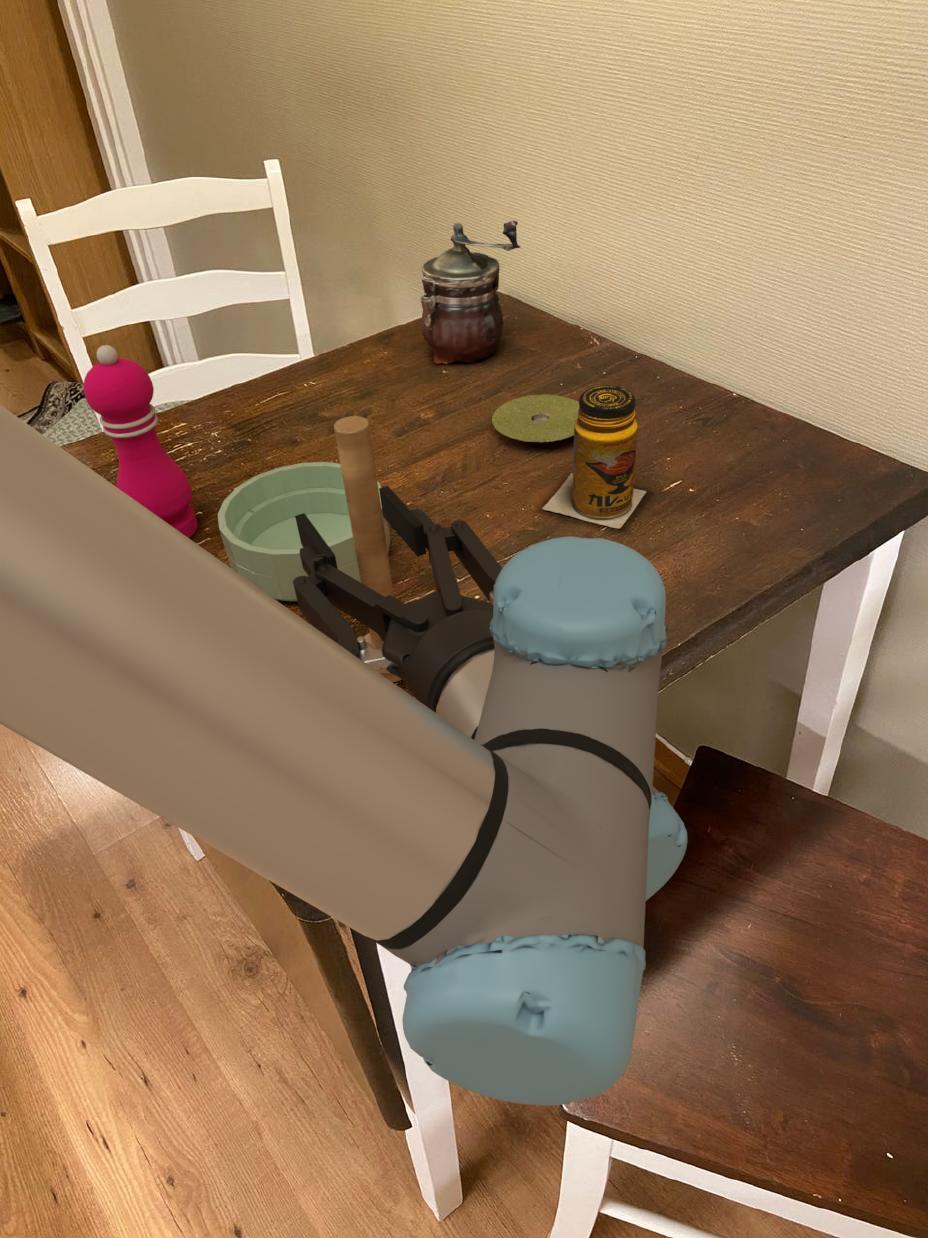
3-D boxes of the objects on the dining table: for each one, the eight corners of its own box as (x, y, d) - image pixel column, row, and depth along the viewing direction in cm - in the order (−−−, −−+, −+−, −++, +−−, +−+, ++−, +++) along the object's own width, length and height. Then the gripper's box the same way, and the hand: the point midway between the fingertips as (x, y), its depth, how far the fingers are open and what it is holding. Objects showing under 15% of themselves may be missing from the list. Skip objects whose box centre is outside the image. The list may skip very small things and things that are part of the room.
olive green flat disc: (596, 411, 105) (596, 396, 103) (582, 460, 97) (583, 444, 95) (503, 406, 107) (503, 391, 106) (482, 452, 99) (482, 437, 98)
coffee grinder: (501, 383, 112) (496, 236, 100) (405, 363, 118) (389, 222, 107) (547, 345, 120) (547, 204, 108) (455, 328, 126) (445, 193, 115)
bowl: (215, 608, 81) (198, 556, 77) (252, 514, 92) (239, 464, 88) (382, 604, 80) (373, 551, 76) (397, 509, 91) (391, 459, 87)
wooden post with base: (351, 684, 72) (303, 446, 58) (360, 638, 76) (317, 406, 62) (419, 682, 72) (387, 443, 57) (424, 636, 76) (395, 403, 62)
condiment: (620, 530, 86) (627, 419, 78) (541, 510, 90) (541, 402, 82) (646, 493, 91) (656, 384, 83) (571, 475, 94) (573, 370, 86)
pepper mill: (130, 520, 93) (62, 338, 80) (200, 506, 94) (144, 323, 81) (132, 559, 88) (59, 369, 75) (205, 542, 89) (147, 354, 76)
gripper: (348, 795, 53) (238, 592, 69) (613, 677, 60) (455, 516, 75) (328, 709, 49) (214, 512, 64) (618, 591, 55) (449, 438, 71)
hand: (344, 515), depth 70 cm, fingers open, 6 cm apart
